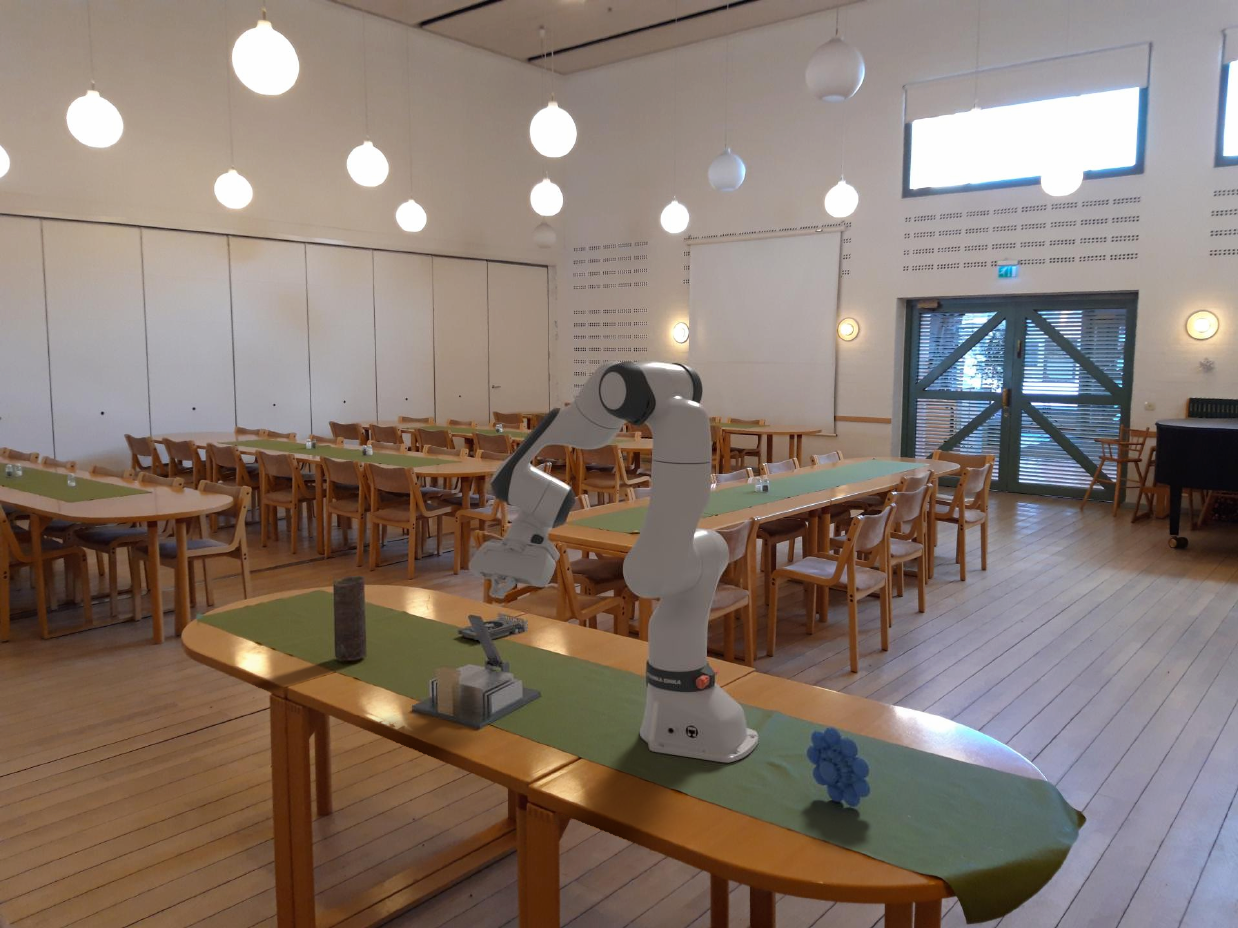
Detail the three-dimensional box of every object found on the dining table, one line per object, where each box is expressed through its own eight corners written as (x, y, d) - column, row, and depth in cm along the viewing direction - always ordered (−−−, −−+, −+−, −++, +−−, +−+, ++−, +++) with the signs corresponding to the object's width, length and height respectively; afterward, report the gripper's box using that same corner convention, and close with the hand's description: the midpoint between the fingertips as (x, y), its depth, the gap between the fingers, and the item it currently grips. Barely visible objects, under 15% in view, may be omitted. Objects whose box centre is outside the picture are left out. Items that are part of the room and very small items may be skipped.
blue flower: (791, 797, 144) (792, 726, 142) (815, 783, 148) (817, 715, 147) (853, 824, 135) (855, 749, 134) (877, 809, 140) (879, 736, 138)
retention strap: (490, 666, 190) (493, 662, 190) (502, 669, 188) (505, 664, 189) (466, 617, 182) (470, 613, 183) (478, 620, 180) (482, 615, 181)
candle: (368, 662, 209) (365, 580, 207) (336, 666, 206) (333, 583, 204) (365, 653, 216) (362, 573, 214) (334, 656, 214) (330, 576, 211)
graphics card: (500, 611, 242) (528, 618, 234) (501, 624, 243) (529, 632, 234) (449, 624, 230) (477, 633, 222) (450, 638, 231) (477, 647, 222)
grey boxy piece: (540, 695, 188) (540, 651, 187) (480, 728, 171) (479, 680, 170) (475, 680, 197) (475, 638, 196) (412, 710, 180) (410, 664, 179)
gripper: (480, 530, 198) (451, 581, 191) (554, 539, 187) (526, 594, 180) (493, 546, 202) (465, 597, 195) (566, 556, 191) (539, 610, 184)
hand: (495, 596), depth 187 cm, fingers closed
